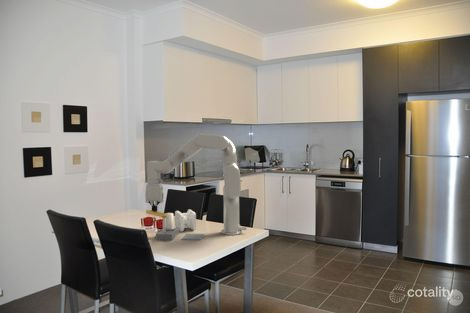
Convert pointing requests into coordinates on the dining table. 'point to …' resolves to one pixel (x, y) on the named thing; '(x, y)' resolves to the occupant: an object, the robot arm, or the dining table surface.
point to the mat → (193, 237)
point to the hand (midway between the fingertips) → (154, 212)
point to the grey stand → (166, 233)
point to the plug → (170, 222)
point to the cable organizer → (185, 220)
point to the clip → (156, 213)
